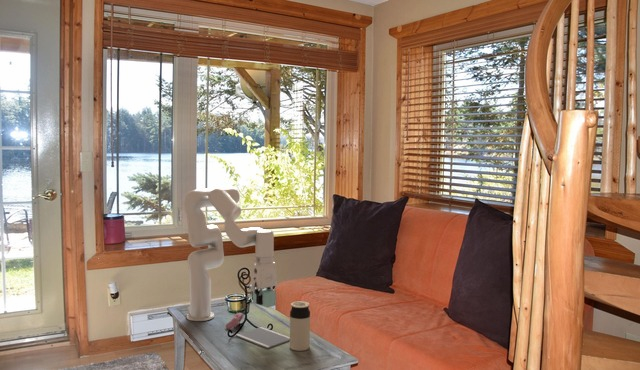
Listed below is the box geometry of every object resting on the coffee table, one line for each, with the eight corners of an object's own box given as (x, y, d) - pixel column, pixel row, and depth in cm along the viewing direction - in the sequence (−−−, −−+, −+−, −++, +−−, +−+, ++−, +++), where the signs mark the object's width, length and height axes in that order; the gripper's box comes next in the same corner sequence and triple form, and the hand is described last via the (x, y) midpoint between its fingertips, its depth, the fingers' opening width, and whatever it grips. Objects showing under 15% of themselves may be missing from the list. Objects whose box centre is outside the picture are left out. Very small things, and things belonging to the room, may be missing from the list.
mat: (235, 336, 235) (235, 334, 235) (260, 328, 245) (260, 326, 245) (267, 348, 222) (267, 347, 222) (292, 339, 232) (292, 338, 232)
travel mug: (294, 352, 218) (295, 307, 217) (286, 345, 225) (287, 302, 224) (312, 349, 222) (313, 305, 220) (304, 342, 229) (304, 300, 227)
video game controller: (233, 333, 243) (240, 319, 242) (224, 328, 244) (231, 314, 243) (240, 326, 253) (247, 313, 252) (232, 320, 253) (238, 307, 252)
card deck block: (267, 307, 228) (267, 292, 227) (253, 302, 234) (253, 288, 233) (275, 305, 231) (275, 290, 230) (261, 300, 237) (261, 286, 236)
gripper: (254, 264, 222) (254, 309, 224) (285, 258, 234) (284, 300, 236) (242, 261, 227) (242, 305, 229) (273, 255, 239) (273, 297, 241)
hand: (264, 302), depth 232 cm, fingers closed on card deck block, 4 cm apart
